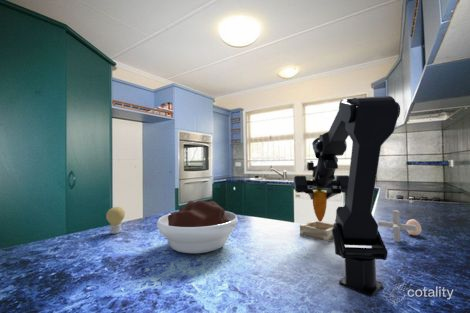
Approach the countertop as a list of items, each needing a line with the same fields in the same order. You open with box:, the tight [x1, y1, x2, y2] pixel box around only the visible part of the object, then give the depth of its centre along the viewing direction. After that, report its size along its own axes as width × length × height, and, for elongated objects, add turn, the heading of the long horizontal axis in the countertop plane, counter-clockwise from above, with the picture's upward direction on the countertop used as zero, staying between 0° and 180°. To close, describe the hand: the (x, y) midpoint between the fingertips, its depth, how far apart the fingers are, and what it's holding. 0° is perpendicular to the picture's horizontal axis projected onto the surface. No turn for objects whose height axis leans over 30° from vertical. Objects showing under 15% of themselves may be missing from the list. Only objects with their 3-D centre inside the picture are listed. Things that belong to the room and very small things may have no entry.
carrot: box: [312, 187, 328, 222], centre depth 80 cm, size 5×5×15 cm
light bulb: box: [105, 206, 126, 235], centre depth 86 cm, size 6×6×10 cm
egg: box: [405, 218, 422, 236], centre depth 79 cm, size 4×4×6 cm
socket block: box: [299, 220, 334, 243], centre depth 80 cm, size 10×10×4 cm
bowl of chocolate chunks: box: [156, 199, 239, 254], centre depth 70 cm, size 25×25×15 cm
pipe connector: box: [377, 209, 416, 243], centre depth 73 cm, size 10×10×10 cm
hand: (318, 198), depth 82 cm, fingers closed on carrot, 5 cm apart
